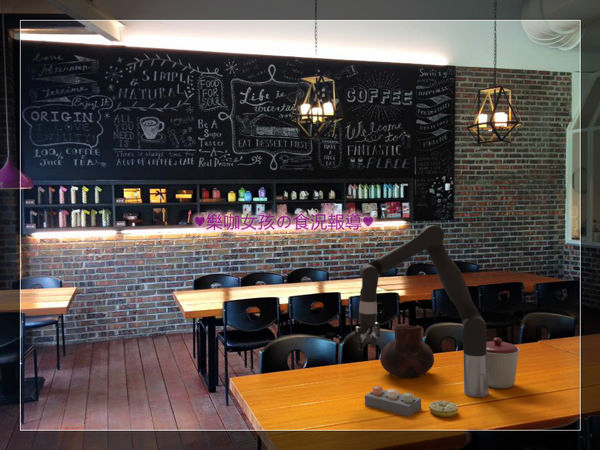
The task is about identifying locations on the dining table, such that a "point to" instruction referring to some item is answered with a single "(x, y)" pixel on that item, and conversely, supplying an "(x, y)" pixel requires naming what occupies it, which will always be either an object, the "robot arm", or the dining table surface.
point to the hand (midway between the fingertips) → (366, 348)
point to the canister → (501, 363)
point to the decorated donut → (443, 408)
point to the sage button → (408, 398)
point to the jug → (407, 353)
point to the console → (393, 403)
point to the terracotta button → (377, 390)
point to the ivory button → (392, 394)
